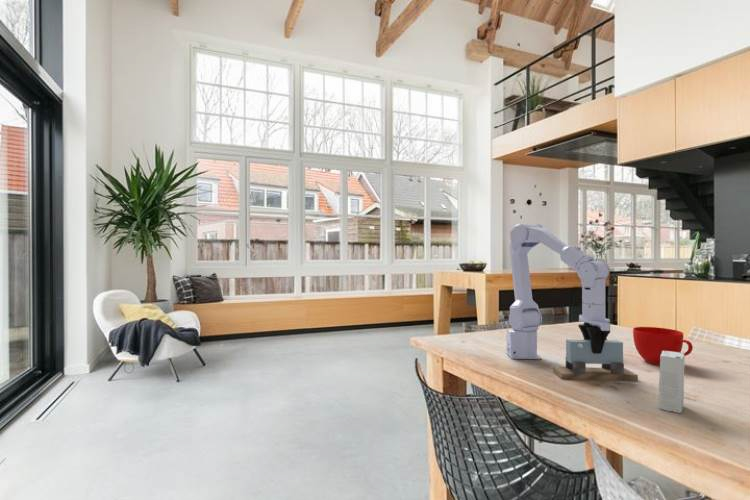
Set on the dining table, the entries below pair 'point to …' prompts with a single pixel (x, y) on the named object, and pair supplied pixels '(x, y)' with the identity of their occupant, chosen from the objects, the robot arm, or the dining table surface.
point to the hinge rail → (595, 372)
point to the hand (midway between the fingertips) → (593, 351)
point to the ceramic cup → (658, 342)
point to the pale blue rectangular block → (583, 353)
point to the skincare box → (671, 381)
